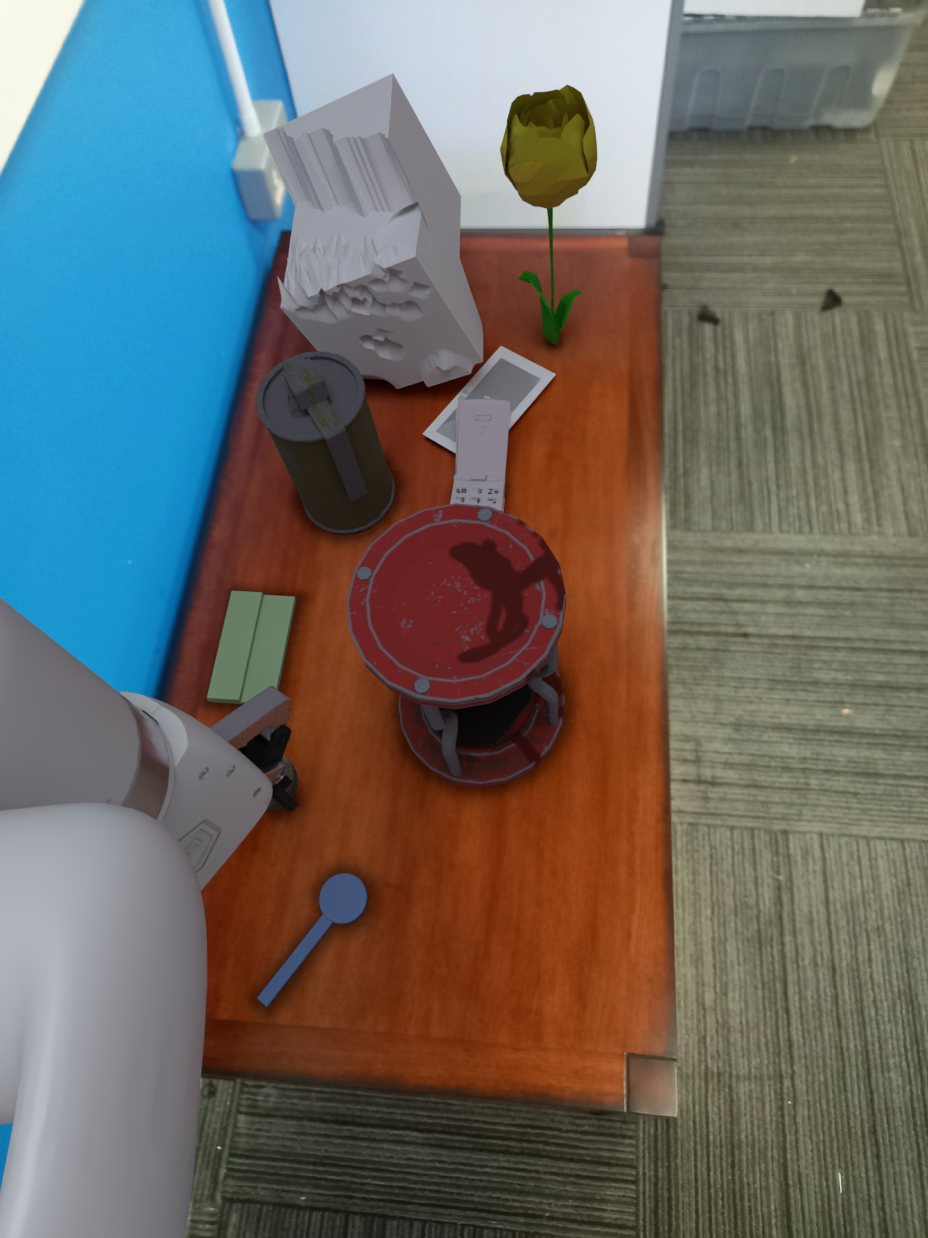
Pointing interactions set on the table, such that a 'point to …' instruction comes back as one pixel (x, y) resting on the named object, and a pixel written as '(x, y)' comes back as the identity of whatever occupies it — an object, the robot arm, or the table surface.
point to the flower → (549, 169)
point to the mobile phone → (481, 452)
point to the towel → (251, 646)
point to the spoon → (322, 926)
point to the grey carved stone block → (376, 240)
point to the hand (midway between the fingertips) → (219, 862)
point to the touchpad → (494, 391)
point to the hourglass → (465, 638)
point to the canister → (327, 440)
